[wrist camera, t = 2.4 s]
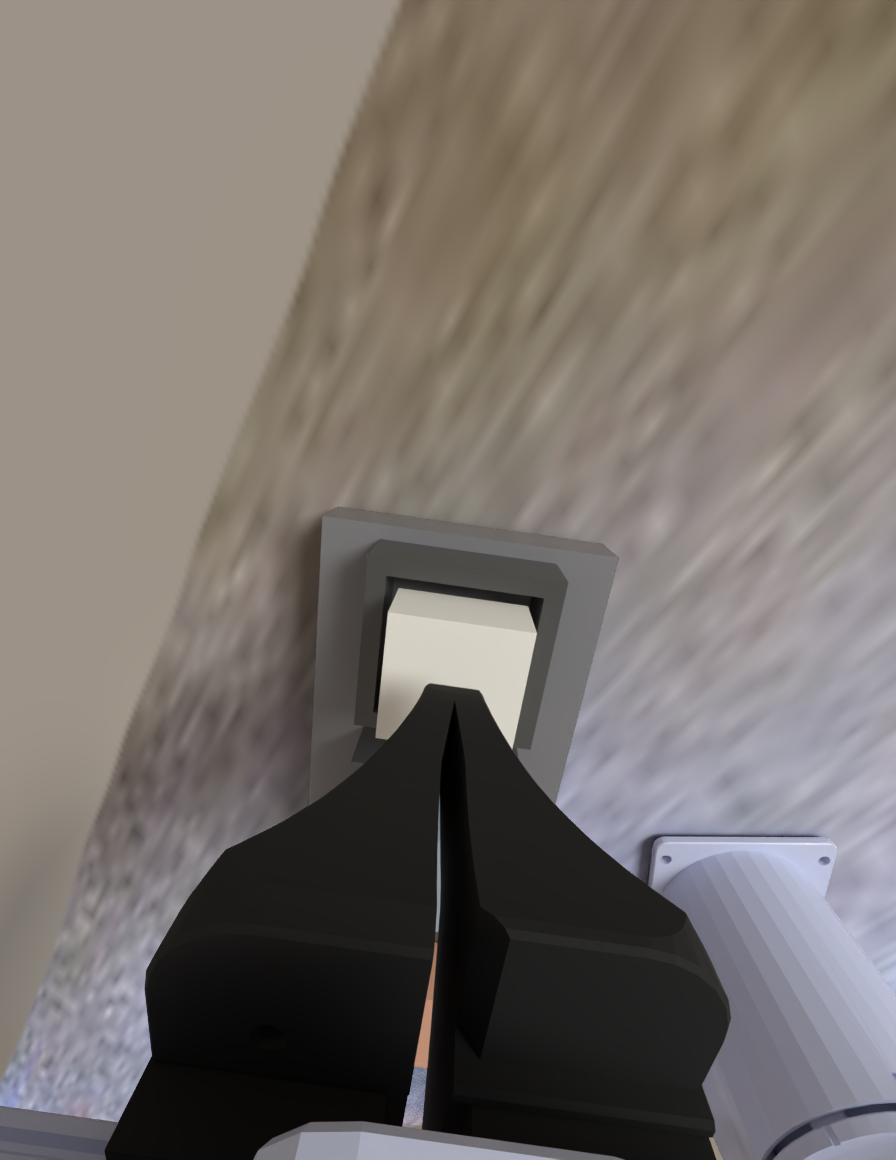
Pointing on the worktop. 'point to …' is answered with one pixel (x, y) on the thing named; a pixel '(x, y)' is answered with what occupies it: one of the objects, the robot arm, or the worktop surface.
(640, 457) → the worktop surface
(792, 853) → the robot arm
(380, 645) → the key panel
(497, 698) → the off-white key
